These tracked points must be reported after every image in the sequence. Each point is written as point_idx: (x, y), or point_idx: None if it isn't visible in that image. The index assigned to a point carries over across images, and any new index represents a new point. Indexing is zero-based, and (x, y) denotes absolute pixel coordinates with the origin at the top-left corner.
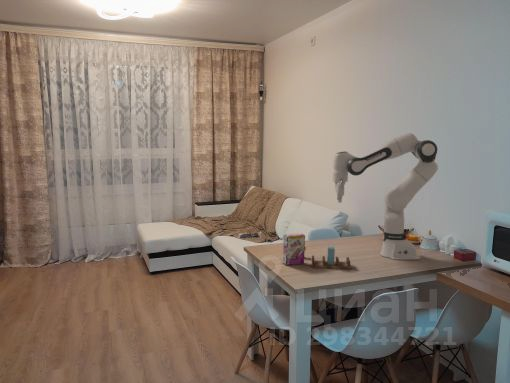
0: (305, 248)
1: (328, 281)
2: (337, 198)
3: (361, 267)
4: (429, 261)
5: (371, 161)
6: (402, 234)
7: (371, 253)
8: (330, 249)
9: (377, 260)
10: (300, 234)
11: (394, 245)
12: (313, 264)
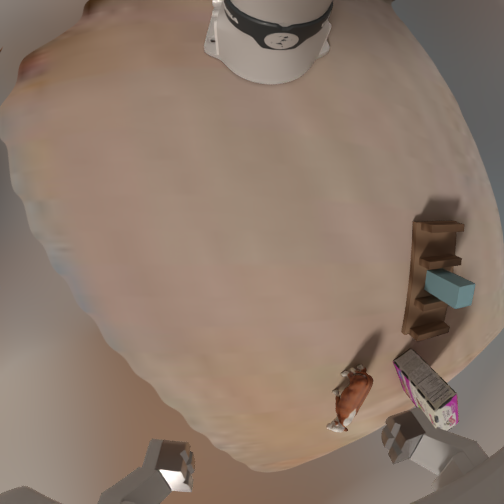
0: (367, 374)
1: (500, 273)
2: (192, 479)
3: (433, 183)
4: None
5: None
6: None
7: (257, 114)
8: (470, 296)
9: (353, 110)
10: (448, 407)
11: (330, 27)
12: (441, 322)
